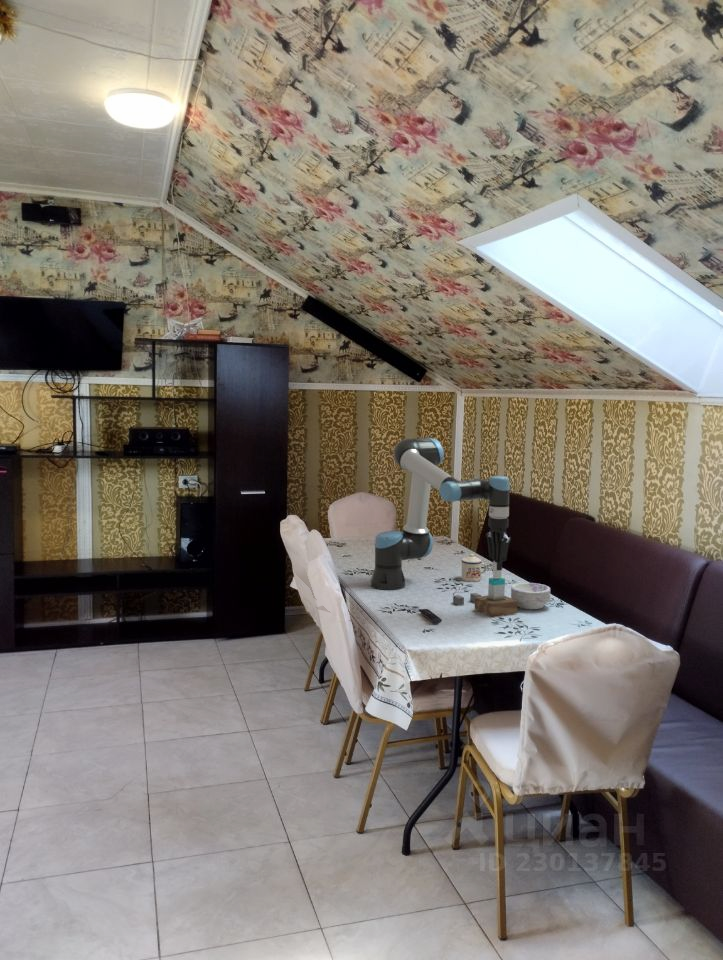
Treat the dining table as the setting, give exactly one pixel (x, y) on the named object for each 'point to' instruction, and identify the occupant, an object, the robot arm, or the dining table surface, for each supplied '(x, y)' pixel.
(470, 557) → the teacup with lid
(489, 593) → the plug
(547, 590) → the white floral bowl
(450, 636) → the dining table surface
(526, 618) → the dining table surface
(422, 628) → the dining table surface
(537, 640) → the dining table surface
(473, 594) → the pair of grey prisms
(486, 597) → the port
